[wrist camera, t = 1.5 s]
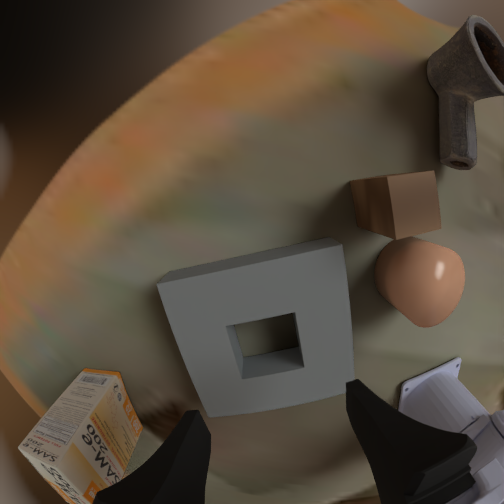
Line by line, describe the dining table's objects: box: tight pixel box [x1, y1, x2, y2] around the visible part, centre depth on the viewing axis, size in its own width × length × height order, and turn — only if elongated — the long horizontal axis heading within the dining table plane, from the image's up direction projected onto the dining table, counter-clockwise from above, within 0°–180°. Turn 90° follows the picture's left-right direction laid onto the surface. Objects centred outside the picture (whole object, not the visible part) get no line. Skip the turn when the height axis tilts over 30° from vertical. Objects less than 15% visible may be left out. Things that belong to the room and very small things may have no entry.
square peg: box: [350, 171, 441, 240], centre depth 16 cm, size 3×3×6 cm
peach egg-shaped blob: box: [374, 236, 465, 327], centre depth 18 cm, size 6×6×5 cm
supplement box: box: [18, 368, 143, 504], centre depth 16 cm, size 8×5×13 cm, turn 5°
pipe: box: [427, 15, 504, 170], centre depth 13 cm, size 6×13×8 cm, turn 171°
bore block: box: [157, 237, 354, 417], centre depth 19 cm, size 12×12×3 cm
